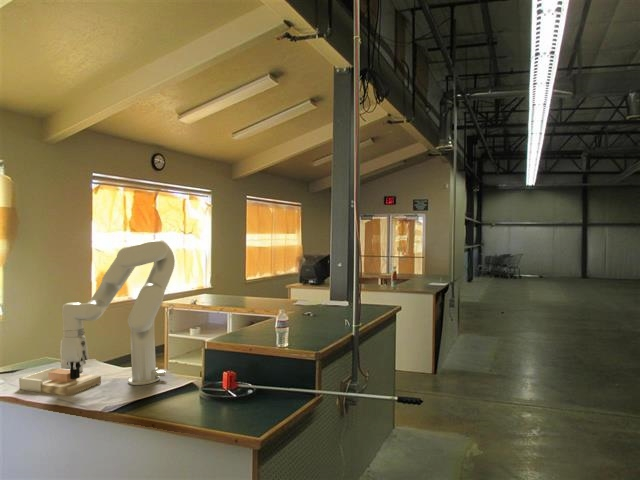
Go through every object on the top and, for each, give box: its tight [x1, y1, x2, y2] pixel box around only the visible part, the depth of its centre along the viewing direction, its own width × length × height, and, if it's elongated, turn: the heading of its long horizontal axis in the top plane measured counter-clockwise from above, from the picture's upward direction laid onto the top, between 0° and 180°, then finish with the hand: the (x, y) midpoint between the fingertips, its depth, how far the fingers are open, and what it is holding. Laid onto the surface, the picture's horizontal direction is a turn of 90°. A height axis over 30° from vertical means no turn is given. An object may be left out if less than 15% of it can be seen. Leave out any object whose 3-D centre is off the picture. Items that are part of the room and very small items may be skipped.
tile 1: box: [49, 369, 66, 381], centre depth 203 cm, size 5×5×3 cm
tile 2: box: [58, 370, 74, 382], centre depth 201 cm, size 5×5×3 cm
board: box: [40, 373, 102, 397], centre depth 201 cm, size 15×16×3 cm
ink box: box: [59, 339, 84, 373], centre depth 223 cm, size 8×5×15 cm, turn 123°
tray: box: [18, 367, 70, 393], centre depth 206 cm, size 12×16×4 cm
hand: (75, 378), depth 200 cm, fingers closed
